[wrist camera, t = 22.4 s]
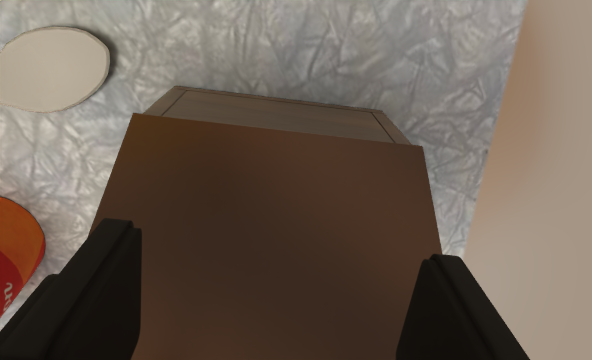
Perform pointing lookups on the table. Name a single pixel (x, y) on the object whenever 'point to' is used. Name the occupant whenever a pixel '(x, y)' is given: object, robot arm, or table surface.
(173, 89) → the chest
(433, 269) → the robot arm
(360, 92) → the table surface
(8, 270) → the coffee cup
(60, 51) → the spoon
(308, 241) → the lid
